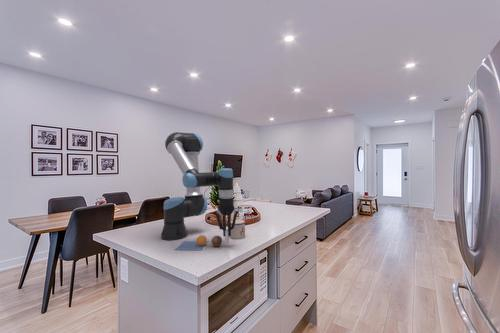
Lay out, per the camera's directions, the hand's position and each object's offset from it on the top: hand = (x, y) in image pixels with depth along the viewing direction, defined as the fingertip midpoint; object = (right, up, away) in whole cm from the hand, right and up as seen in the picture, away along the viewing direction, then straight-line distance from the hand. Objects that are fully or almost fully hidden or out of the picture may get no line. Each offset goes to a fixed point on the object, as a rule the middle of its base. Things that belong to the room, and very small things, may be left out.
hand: (227, 242), depth 124 cm
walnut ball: (-6, +1, 0) cm, 6 cm away
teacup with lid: (+5, -2, +18) cm, 18 cm away
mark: (-19, -2, +2) cm, 19 cm away
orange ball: (-14, 0, +1) cm, 14 cm away
